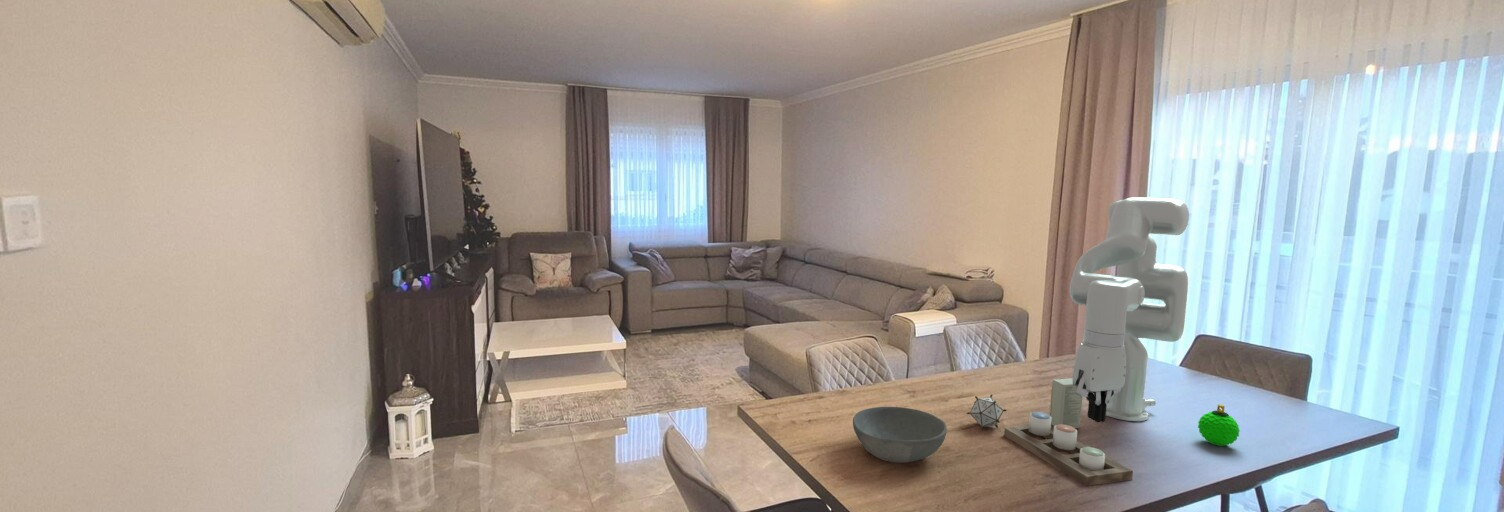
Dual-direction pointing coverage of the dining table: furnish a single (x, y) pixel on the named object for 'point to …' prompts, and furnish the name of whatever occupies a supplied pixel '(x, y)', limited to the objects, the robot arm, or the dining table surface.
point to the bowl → (899, 433)
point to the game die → (986, 411)
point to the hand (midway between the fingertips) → (1096, 419)
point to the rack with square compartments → (1068, 458)
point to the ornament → (1218, 427)
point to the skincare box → (1065, 403)
